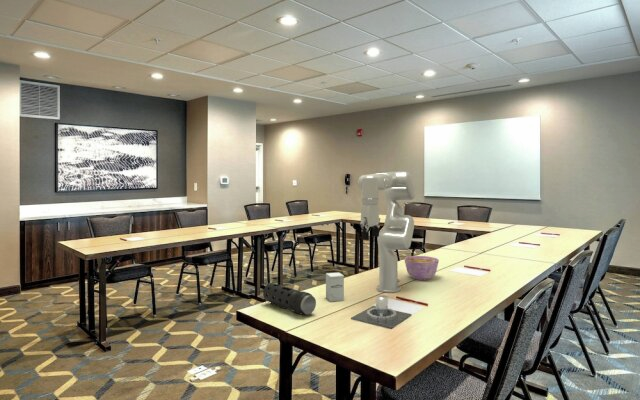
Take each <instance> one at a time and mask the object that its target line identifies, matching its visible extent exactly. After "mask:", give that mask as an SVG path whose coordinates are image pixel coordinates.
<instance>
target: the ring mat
mask: <svg viewBox="0 0 640 400" xmlns="http://www.w3.org/2000/svg"><path fill="white" fill-rule="evenodd" d="M411 316H412V313H408V312H404V311H399V310H394V309H392V308H388V315H387V316H386V317H382V316H376V305H372V306H370V307H368V308H366V309H365V310H363V311H360V312H358V313H357V314H355V315H353V316H351V317H350V319H351V320H353V321H357V322H362V323H364V324H369V325H374V326H377V327H382V328H386V329H390V330H392V329H394V328H395V327H397V326H398V325H399V324H401V323H403V322H404V321H405V320H407V319H409V318H410V317H411Z"/></svg>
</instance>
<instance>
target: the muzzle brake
mask: <svg viewBox="0 0 640 400" xmlns="http://www.w3.org/2000/svg"><path fill="white" fill-rule="evenodd" d="M262 296H263V298H264V300H265V301H267V302H269V303H270V302H271V303H272V304H271V303H270V304H271V305H274V304H275V305H274V306H277V307H279V306H280V308H282V307H283V308H284V309H286V310H288V309H289V310H290V311H293V312H296V313H295V314H297V313H299V314H298V315H303V316H304V315H311V314H313V312H314V311H315V309H316V306H317V300H316V298H315V297H314V295H312V294H311V293H309V292H307V291H301V290H298V289H295V288H291V287H288V286H285V285H281V284H278V283H274V282H270V283H268V284H266V286H265V287H264V289H263V295H262ZM283 308H282V309H283ZM287 308H288V309H287Z"/></svg>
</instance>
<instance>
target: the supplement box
mask: <svg viewBox="0 0 640 400" xmlns="http://www.w3.org/2000/svg"><path fill="white" fill-rule="evenodd" d="M344 279H345V275H344V274H342V273H341V272H326V273H325V298H326V299H327V301H329V302H330V303H331V302H340V301H345V286H344V283H345V280H344Z"/></svg>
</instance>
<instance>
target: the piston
mask: <svg viewBox="0 0 640 400" xmlns="http://www.w3.org/2000/svg"><path fill="white" fill-rule="evenodd" d="M375 297H376V298H375V306H376V316H382V317H386V316H387V315H388V309H389V308H388V307H389V305H388V304H389V303H388V302H389V297H388V296H386V295H376V296H375Z"/></svg>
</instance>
